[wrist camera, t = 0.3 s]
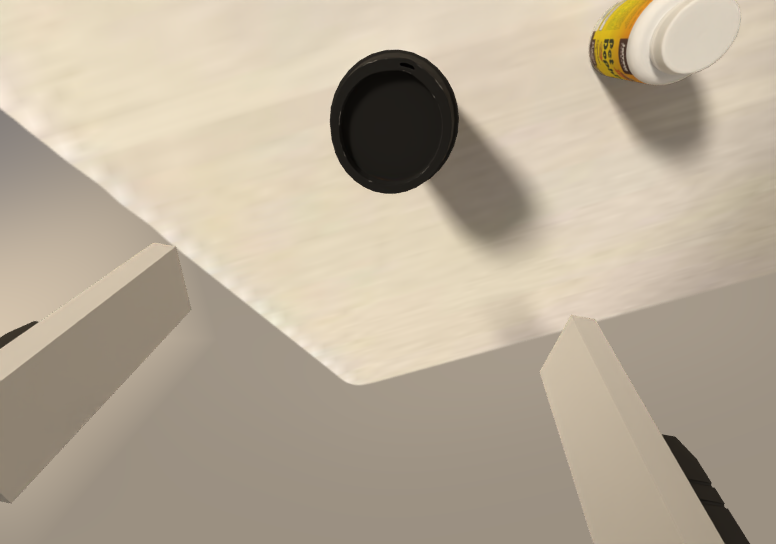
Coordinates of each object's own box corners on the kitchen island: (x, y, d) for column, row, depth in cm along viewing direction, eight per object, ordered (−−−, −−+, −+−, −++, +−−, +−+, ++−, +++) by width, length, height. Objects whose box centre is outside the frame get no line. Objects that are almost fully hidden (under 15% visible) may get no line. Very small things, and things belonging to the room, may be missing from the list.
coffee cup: (466, 65, 31) (485, 78, 18) (433, 157, 36) (432, 217, 23) (375, 35, 31) (333, 26, 18) (355, 132, 35) (310, 179, 23)
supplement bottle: (572, 39, 29) (628, 36, 21) (640, -23, 27) (737, -57, 18) (606, 92, 31) (672, 109, 22) (673, 38, 28) (776, 34, 20)
